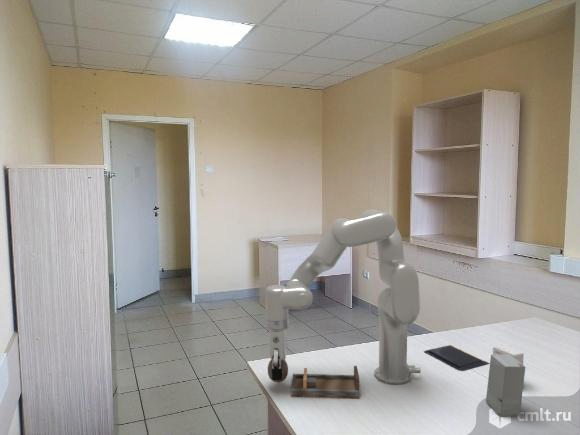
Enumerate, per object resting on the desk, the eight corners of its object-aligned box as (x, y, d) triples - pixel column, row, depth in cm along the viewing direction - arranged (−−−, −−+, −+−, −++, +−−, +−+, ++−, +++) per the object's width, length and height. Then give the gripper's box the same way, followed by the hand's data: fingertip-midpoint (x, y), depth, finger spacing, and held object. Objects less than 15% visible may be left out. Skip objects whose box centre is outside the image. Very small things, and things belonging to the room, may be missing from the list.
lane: (356, 380, 150) (356, 364, 149) (359, 398, 138) (359, 380, 137) (292, 379, 151) (292, 362, 151) (290, 397, 139) (290, 379, 139)
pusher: (315, 378, 149) (315, 368, 149) (315, 391, 140) (315, 380, 140) (304, 378, 149) (304, 368, 149) (303, 391, 141) (303, 380, 140)
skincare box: (485, 402, 135) (487, 353, 134) (507, 401, 136) (509, 352, 134) (500, 417, 127) (502, 365, 125) (523, 416, 127) (526, 364, 126)
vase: (286, 385, 141) (285, 359, 140) (265, 383, 143) (264, 358, 142) (290, 375, 148) (289, 351, 147) (270, 374, 150) (270, 349, 149)
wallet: (422, 348, 174) (451, 342, 180) (422, 352, 174) (451, 346, 180) (459, 368, 156) (491, 361, 162) (459, 373, 156) (490, 366, 162)
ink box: (523, 386, 145) (525, 352, 144) (513, 390, 143) (515, 355, 141) (500, 376, 153) (502, 343, 151) (491, 379, 150) (492, 346, 149)
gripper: (286, 332, 135) (287, 387, 136) (290, 314, 152) (290, 363, 154) (262, 332, 135) (263, 386, 137) (268, 314, 152) (269, 363, 154)
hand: (278, 374), depth 145 cm, fingers closed on vase, 6 cm apart
